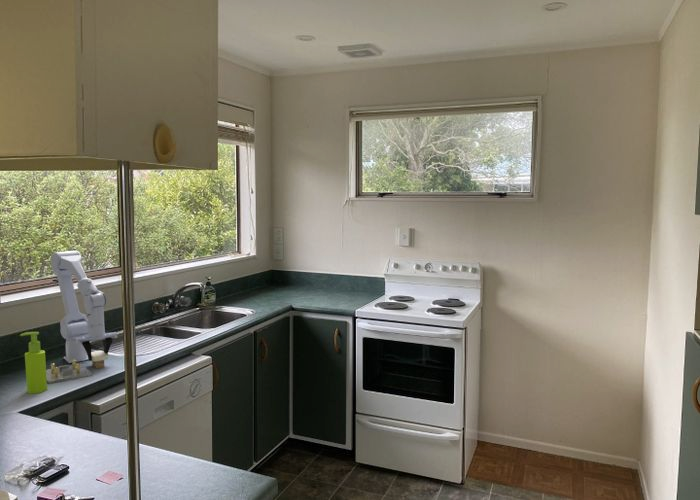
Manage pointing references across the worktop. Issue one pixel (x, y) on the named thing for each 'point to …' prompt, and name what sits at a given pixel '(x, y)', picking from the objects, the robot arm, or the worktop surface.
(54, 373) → the chassis
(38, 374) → the soap dispenser
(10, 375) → the worktop surface
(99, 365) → the wooden block
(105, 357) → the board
